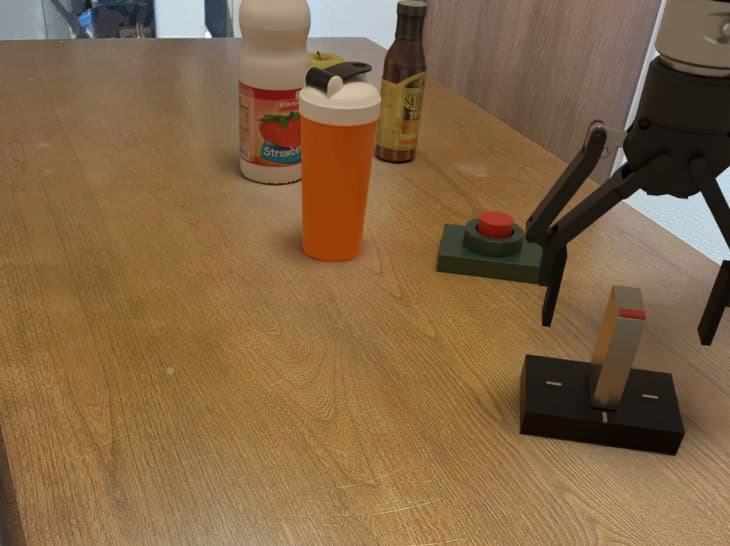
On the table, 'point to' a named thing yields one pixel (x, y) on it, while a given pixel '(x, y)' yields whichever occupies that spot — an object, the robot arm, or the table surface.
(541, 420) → the panel
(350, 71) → the shaker bottle
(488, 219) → the button
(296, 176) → the fruit juice
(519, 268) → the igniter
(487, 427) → the table surface
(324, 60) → the apple
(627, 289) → the grey tall block
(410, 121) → the sauce bottle
